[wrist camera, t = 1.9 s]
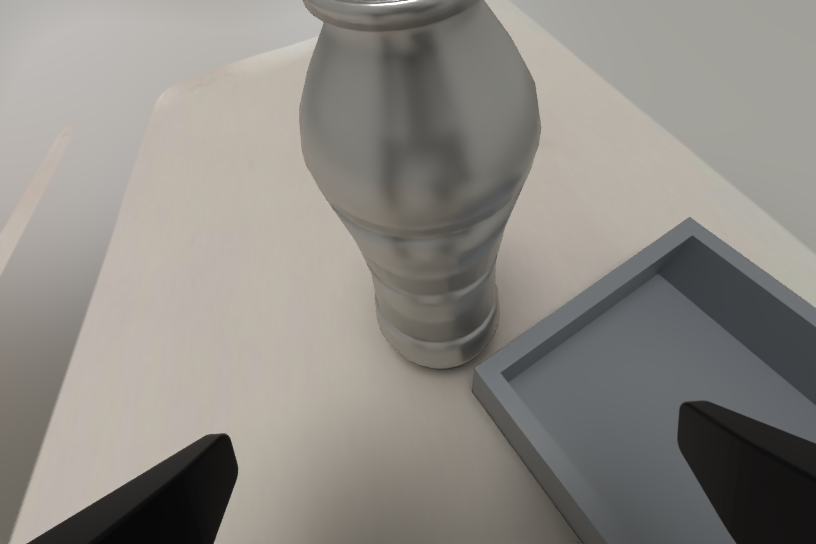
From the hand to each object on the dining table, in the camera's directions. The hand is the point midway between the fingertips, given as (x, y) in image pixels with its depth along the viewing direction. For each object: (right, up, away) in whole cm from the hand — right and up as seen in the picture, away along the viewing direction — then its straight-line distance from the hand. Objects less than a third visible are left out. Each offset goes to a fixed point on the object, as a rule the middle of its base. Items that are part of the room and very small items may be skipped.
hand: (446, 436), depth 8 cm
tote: (+12, -4, +11) cm, 17 cm away
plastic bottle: (+1, 0, +16) cm, 16 cm away
